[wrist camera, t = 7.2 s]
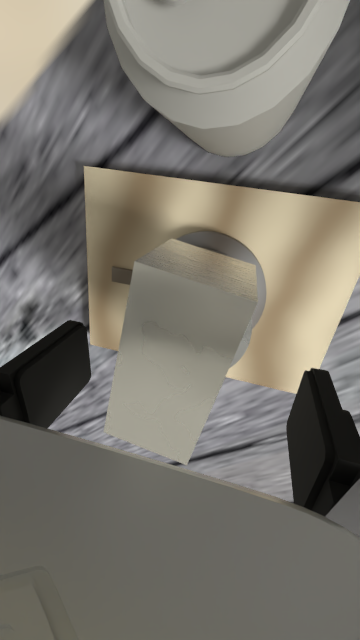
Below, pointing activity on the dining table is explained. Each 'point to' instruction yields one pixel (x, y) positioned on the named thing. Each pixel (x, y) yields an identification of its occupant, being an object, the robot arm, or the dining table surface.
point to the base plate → (236, 242)
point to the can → (223, 62)
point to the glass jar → (178, 345)
